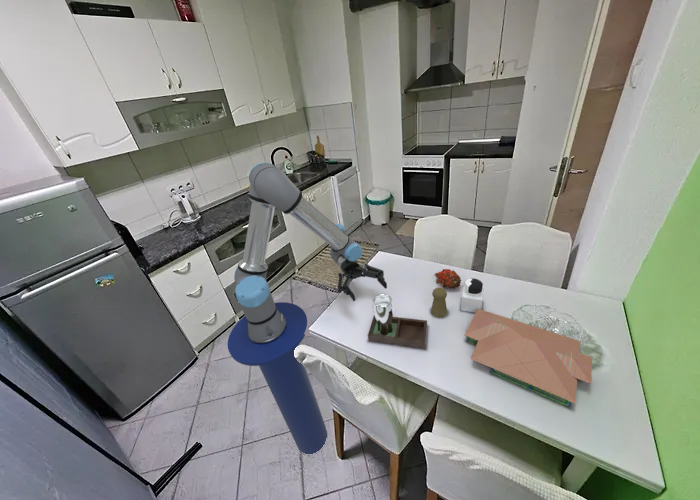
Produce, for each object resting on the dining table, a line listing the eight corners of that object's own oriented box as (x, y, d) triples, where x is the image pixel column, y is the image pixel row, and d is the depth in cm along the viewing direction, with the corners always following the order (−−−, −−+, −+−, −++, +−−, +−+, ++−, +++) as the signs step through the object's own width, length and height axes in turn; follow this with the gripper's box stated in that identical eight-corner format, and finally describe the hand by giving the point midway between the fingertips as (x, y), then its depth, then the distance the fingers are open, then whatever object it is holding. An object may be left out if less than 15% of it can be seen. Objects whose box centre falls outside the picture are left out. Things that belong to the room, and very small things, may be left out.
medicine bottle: (481, 301, 110) (485, 277, 103) (480, 314, 104) (484, 289, 98) (462, 298, 113) (464, 275, 106) (460, 310, 107) (462, 286, 101)
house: (585, 416, 71) (595, 397, 66) (455, 359, 90) (456, 342, 85) (588, 352, 85) (597, 333, 81) (476, 314, 104) (478, 298, 100)
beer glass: (385, 320, 107) (382, 290, 99) (398, 330, 102) (396, 299, 94) (372, 330, 103) (368, 300, 96) (385, 341, 99) (382, 310, 91)
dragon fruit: (460, 295, 117) (436, 287, 126) (468, 277, 118) (443, 271, 127) (453, 287, 111) (427, 280, 120) (461, 269, 113) (435, 263, 122)
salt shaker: (448, 308, 109) (450, 287, 103) (444, 319, 104) (446, 297, 99) (433, 305, 112) (433, 283, 106) (428, 314, 107) (429, 293, 102)
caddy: (368, 341, 101) (367, 335, 99) (374, 320, 109) (374, 314, 107) (425, 349, 94) (425, 343, 93) (427, 326, 103) (427, 320, 101)
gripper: (374, 263, 127) (398, 288, 110) (323, 281, 120) (341, 311, 103) (372, 249, 124) (398, 273, 106) (320, 267, 117) (338, 295, 99)
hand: (370, 291), depth 105 cm, fingers open, 13 cm apart
